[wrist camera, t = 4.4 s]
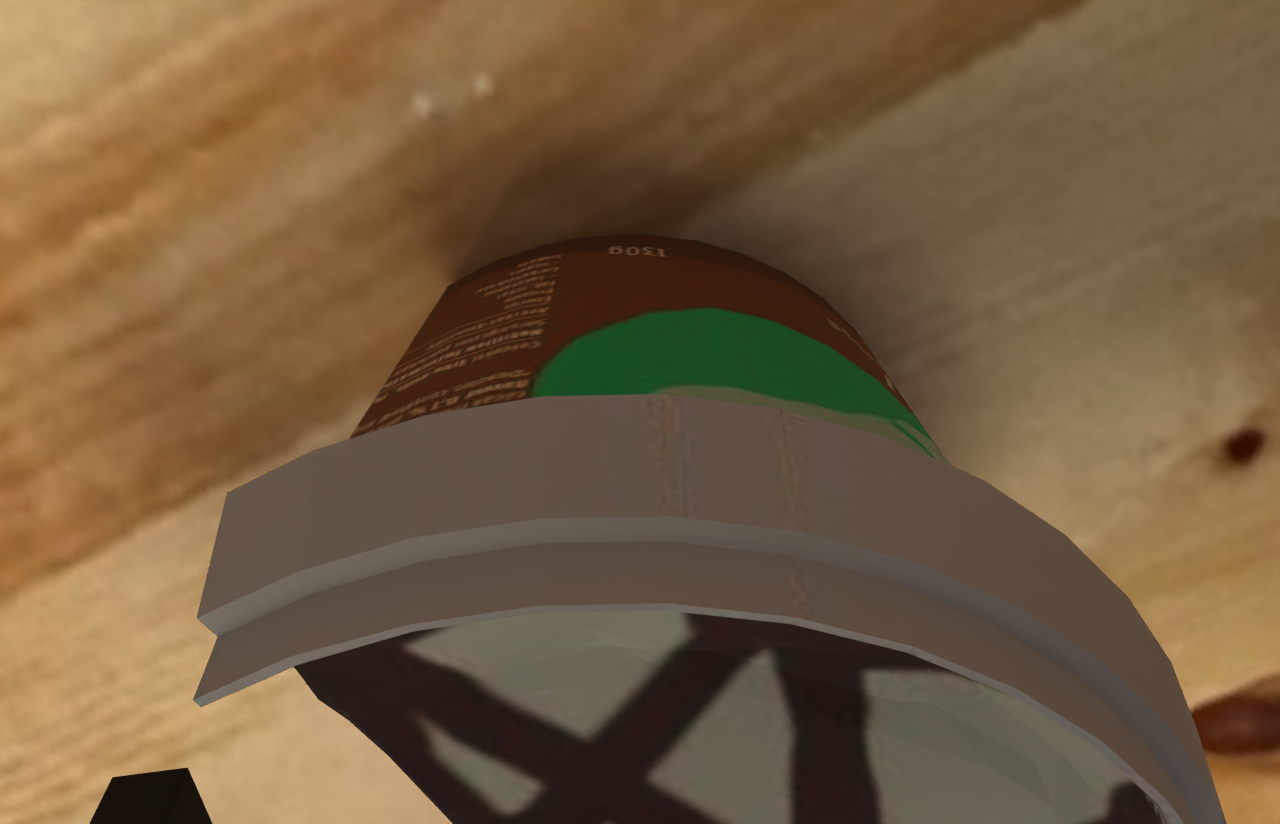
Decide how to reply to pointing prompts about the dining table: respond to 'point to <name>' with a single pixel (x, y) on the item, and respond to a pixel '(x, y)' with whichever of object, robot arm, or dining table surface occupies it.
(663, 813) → the food container
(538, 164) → the dining table surface
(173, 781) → the robot arm
